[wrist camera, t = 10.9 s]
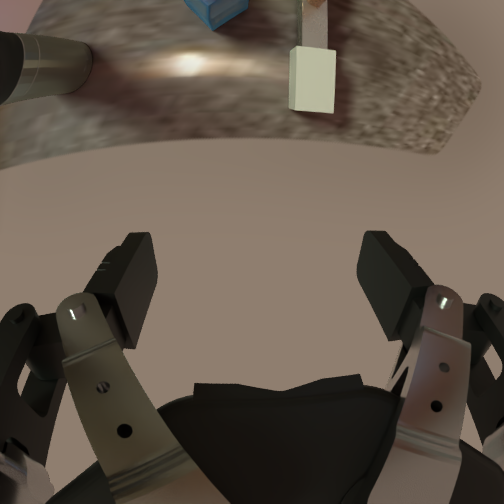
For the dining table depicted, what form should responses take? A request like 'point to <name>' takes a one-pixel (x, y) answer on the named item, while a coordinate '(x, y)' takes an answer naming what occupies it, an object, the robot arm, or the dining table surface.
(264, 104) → the dining table surface
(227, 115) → the dining table surface
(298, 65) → the pale white block
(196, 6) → the perfume bottle
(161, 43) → the dining table surface
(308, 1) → the grey bar with post
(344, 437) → the robot arm
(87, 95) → the dining table surface
